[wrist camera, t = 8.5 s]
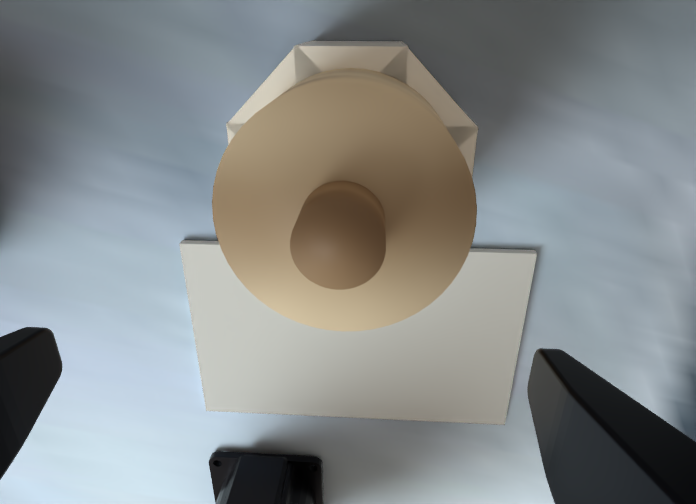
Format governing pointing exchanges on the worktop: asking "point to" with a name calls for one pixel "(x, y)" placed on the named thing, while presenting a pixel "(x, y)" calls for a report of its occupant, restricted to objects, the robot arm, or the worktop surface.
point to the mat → (363, 347)
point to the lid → (345, 202)
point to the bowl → (362, 55)
